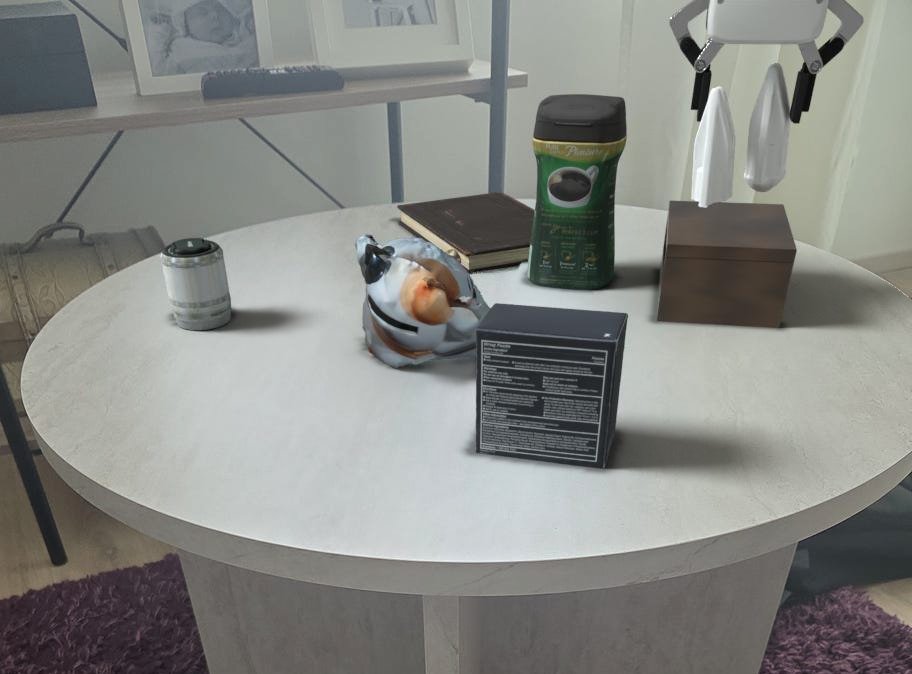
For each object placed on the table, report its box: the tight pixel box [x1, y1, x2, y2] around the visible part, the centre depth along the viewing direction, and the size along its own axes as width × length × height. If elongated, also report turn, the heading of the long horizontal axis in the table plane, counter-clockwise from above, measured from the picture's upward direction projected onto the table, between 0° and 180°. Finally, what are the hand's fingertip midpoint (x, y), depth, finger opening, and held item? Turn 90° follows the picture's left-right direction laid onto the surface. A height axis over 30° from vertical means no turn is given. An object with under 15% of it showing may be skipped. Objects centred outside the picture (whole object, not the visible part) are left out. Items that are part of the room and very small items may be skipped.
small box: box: [474, 302, 629, 470], centre depth 70 cm, size 11×6×10 cm, turn 73°
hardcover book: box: [396, 191, 535, 274], centre depth 117 cm, size 16×23×2 cm
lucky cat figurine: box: [354, 233, 491, 369], centre depth 84 cm, size 15×12×14 cm
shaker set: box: [690, 62, 791, 208], centre depth 88 cm, size 12×4×11 cm, turn 118°
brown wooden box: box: [656, 200, 798, 329], centre depth 96 cm, size 12×16×8 cm
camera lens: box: [159, 237, 232, 331], centre depth 94 cm, size 6×6×8 cm
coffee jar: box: [527, 93, 628, 291], centre depth 98 cm, size 10×8×19 cm
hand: (746, 118), depth 87 cm, fingers closed on shaker set, 8 cm apart
